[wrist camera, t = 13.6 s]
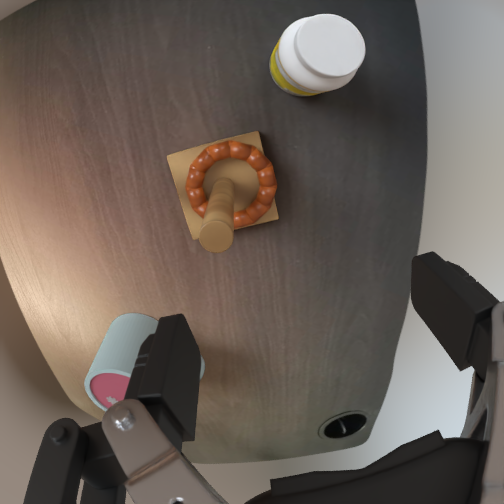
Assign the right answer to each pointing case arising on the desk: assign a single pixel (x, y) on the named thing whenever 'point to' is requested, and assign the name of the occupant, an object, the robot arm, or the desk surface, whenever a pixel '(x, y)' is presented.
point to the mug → (119, 358)
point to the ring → (242, 153)
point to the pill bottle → (317, 55)
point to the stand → (219, 193)
